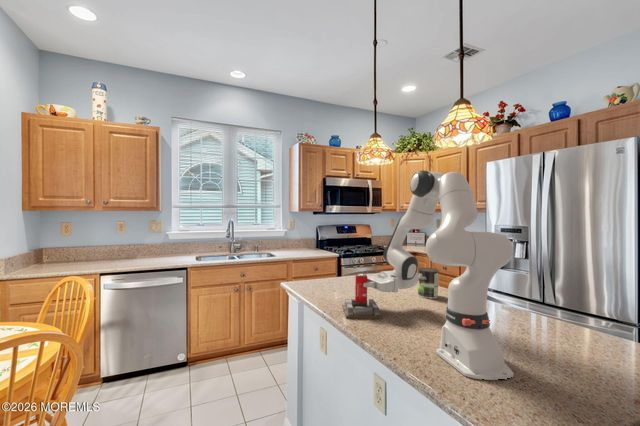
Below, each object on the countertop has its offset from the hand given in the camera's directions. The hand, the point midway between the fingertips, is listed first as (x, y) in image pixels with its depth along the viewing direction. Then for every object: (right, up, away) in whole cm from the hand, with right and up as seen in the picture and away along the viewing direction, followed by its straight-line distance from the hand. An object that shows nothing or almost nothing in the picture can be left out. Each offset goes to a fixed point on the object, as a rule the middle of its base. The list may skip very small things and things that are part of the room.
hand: (360, 283), depth 137 cm
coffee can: (+40, -13, +29) cm, 51 cm away
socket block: (+1, -13, +1) cm, 13 cm away
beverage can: (+1, -9, +1) cm, 9 cm away
